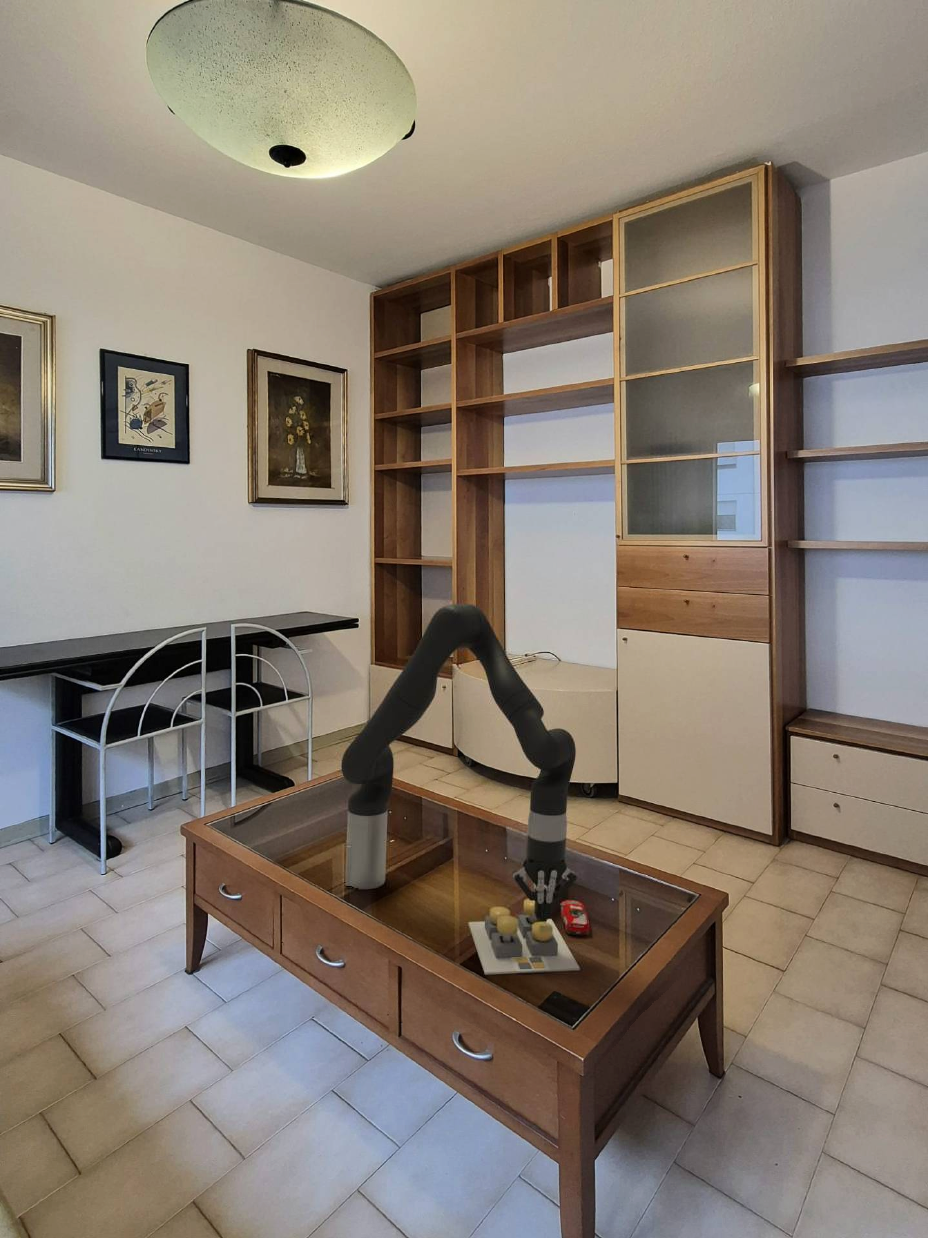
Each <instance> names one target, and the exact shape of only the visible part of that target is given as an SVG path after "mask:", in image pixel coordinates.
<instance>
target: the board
mask: <svg viewBox="0 0 928 1238" xmlns="http://www.w3.org/2000/svg"><path fill="white" fill-rule="evenodd" d="M517 920H518V931H517V933H515V934H512V935H511V942H509V943H503V934H502V933H500V932H498V931H497V925H495V924H494V923H492V922H491V921H490V915H485V916H484V921H468V924H467V925H468V927H469V930H470V934H471V936H472V939H473V942H474V945H475V949H476V951H477V955H478V958H479V961H480V964H481V967H482V970H483V973H484V975H502V974H503V975H504V974H505V975H506V974H507V975H508V974H524V973H525V974H527V973H530V974H531V973H546V972H547V973H550V972H567V971H580V969H581V968H580V966H579V965H578V962H577V961H576V959H575V957H574V956H573V954H572V952H571V951H570V949H569V947H568V945H567V944H566V942H565V940H564V938H563V937H562V935H561V933H560V931H559V930H558V928H557V926H556V924H555V923H554V921H553V920H552V918H547V921H543V922H545V923H548V924H550V925H552V927H553V932H552V939H551V940H548V941H538V940H536V939H534V938H533V937H532V925H533V924H534V923H533V924H529V915H527V914H518V916H517ZM537 922H539V920H538V919H537Z"/></svg>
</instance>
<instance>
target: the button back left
mask: <svg viewBox="0 0 928 1238" xmlns="http://www.w3.org/2000/svg"><path fill="white" fill-rule="evenodd" d="M489 916H490V921H491V922H492V923H494V924H495V925H497V919H498V918H499V917H500V916H511V911H510V909H508V908H506V907H505V906H504V907H503V906H494V907H491V908H490V909H489Z"/></svg>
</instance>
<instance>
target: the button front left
mask: <svg viewBox="0 0 928 1238" xmlns="http://www.w3.org/2000/svg"><path fill="white" fill-rule="evenodd" d="M497 931H498V932H500V933H502V934H503V943H509V942H511V935H512V934H515V933H517V931H518V918H516V917H515V916H512V915H510V916H500V917H499V918H498V919H497Z"/></svg>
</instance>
